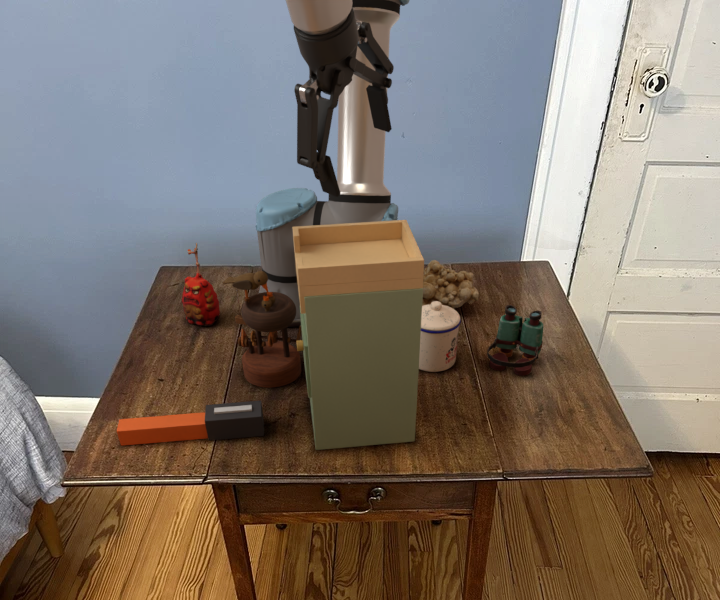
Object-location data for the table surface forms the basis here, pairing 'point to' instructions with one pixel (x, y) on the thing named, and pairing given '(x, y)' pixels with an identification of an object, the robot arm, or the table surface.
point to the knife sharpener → (196, 425)
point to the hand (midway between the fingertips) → (357, 160)
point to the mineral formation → (447, 286)
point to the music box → (268, 314)
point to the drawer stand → (360, 330)
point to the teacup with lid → (438, 337)
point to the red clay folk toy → (199, 298)
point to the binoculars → (517, 341)
